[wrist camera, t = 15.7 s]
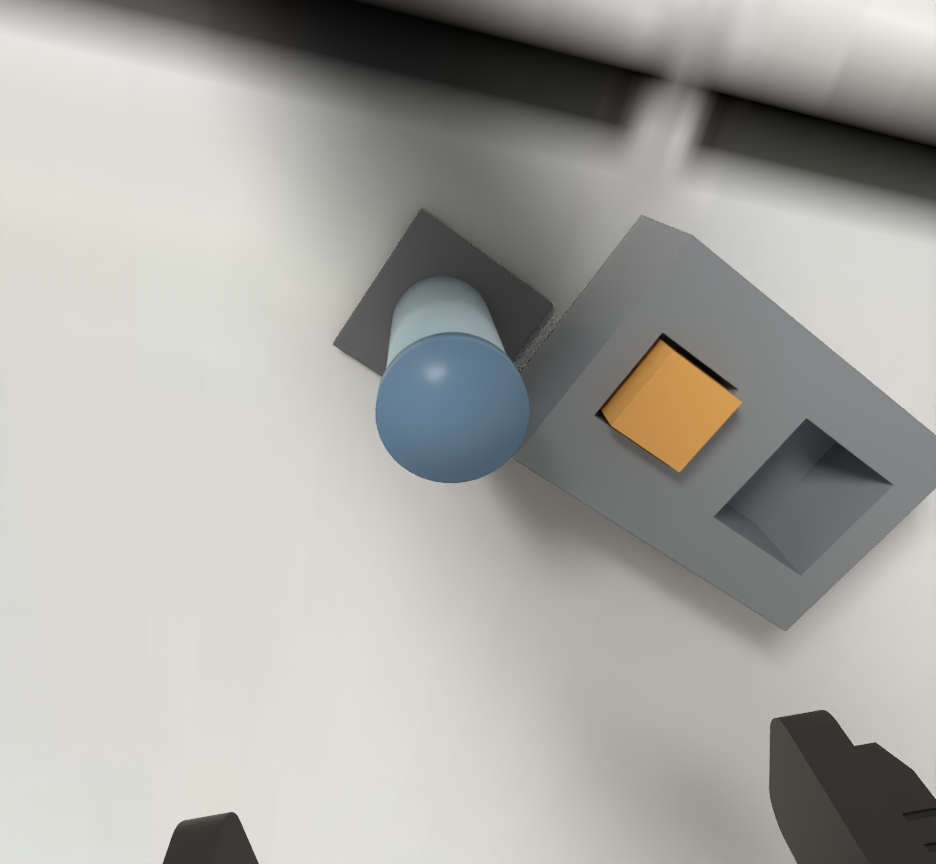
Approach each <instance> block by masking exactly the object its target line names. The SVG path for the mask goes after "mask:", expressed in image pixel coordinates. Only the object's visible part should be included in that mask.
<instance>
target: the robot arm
mask: <svg viewBox="0 0 936 864" xmlns="http://www.w3.org/2000/svg"><path fill="white" fill-rule="evenodd" d="M769 791H770V798H771V803H772V807H773V810H774V814H775V817H776V820H777V823H778V825H779V828H780V830H781V832H782V834H783V836H784V839H785V840H786V842H787V844H788V846H789V848H790V850H791V852H792V854H793V856H794V858H795V860H796V862H797V864H936V799H935V798H934V796H933V795H932V794H931V793H930V791H929V790H928V789H927V787H926V786H925V785H924V784H923V782H922V781H921V780H920V778H919V777H918V776H917V774H916V773H915V772H914V771H913V770H912V769H911V768H909V767H908V766H907V765H905V764H904V763H903V762H901V761H900V760H899V759H897V758H896V757H894V756H893V755H892V754H890V753H889V752H888V751H886V750H885V749H884V748H882V747H881V746H880V745H878V744H877V743H876V742H875V743H869V744H864V745H858V746H854V745H853V744H852V742H851V741H850V740H849V738H848V737H847V735H846V734H845V732H844V731H843V730H842V728H841V727H840V725H839V724H838V723H837V721H836V720H835V719H834V717H833V716H832V715H831V714H830V713H828V712H827V711H825V710H819V711H813V712H808V713H802V714H796V715H791V716H785V717H779V718H774V719H773V720H772V721H771V725H770V775H769ZM163 864H259V863H258V861H257V859H256V856H255V854H254V852H253V850H252V847H251V845H250V843H249V840H248V838H247V836H246V833H245V831H244V829H243V826H242V824H241V822H240V820H239V818H238V816H237V815H236V814H235V813H234V812H230V813H224V814H218V815H213V816H207V817H201V818H196V819H190V820H184V821H182V822H180V823H179V824H178V826H177V827H176V829H175V831H174V833H173V835H172V838H171V841H170V844H169V847H168V850H167V853H166V856H165V858H164V861H163Z"/></svg>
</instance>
